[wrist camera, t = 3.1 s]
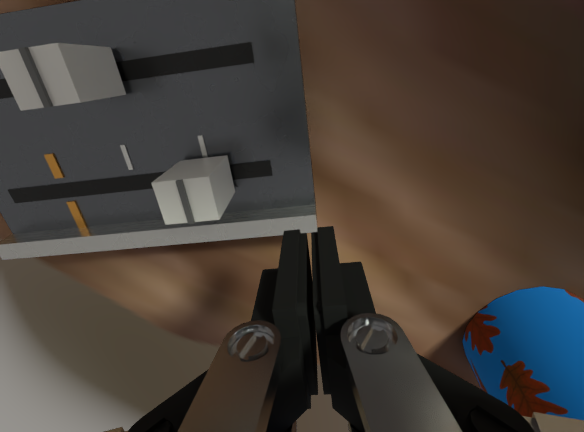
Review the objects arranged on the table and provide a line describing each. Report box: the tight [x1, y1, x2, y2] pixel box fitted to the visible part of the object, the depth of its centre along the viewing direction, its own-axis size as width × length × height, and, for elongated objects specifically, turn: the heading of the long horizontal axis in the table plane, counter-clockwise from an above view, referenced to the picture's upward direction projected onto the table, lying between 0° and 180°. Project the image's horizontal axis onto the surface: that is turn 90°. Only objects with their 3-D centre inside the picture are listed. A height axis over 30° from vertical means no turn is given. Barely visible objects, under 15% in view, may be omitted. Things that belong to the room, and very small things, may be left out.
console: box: [0, 0, 317, 260], centre depth 19 cm, size 22×14×4 cm, turn 97°
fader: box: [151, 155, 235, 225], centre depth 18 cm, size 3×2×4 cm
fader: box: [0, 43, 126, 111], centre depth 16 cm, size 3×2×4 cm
